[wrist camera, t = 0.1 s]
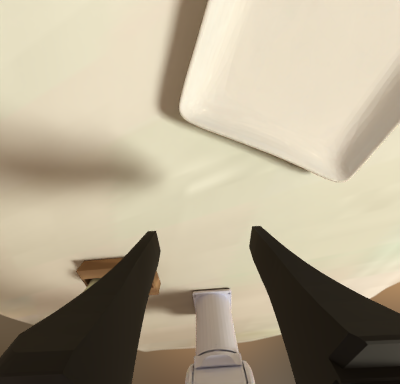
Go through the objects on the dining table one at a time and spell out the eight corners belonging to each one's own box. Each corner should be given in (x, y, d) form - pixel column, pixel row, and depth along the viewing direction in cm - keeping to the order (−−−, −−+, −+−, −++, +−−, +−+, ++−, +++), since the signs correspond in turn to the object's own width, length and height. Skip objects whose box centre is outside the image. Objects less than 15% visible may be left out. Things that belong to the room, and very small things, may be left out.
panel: (160, 283, 29) (158, 294, 28) (101, 288, 30) (95, 299, 28) (151, 255, 26) (147, 265, 24) (84, 260, 26) (76, 271, 24)
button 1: (112, 285, 27) (103, 303, 25) (96, 286, 27) (85, 304, 25) (106, 274, 26) (95, 292, 23) (89, 276, 26) (77, 294, 23)
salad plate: (177, 118, 17) (173, 118, 14) (286, -280, 8) (340, -522, 5) (325, 177, 20) (347, 187, 17) (507, -57, 12) (617, -120, 9)
